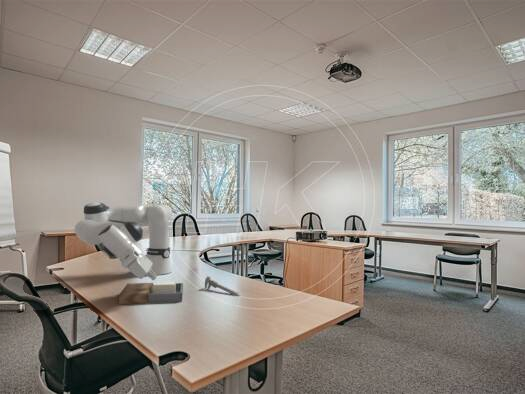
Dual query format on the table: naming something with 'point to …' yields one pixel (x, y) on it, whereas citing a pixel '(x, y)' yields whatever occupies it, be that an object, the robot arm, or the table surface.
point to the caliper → (215, 285)
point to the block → (164, 287)
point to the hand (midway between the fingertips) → (155, 278)
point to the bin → (168, 295)
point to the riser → (136, 293)
